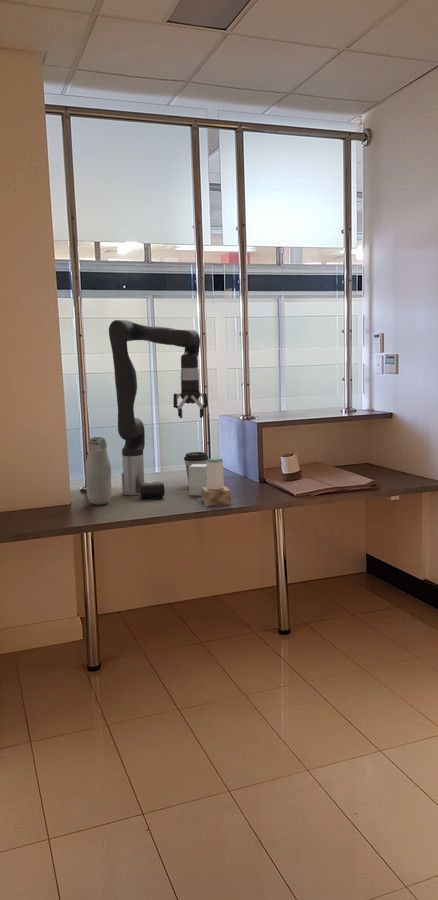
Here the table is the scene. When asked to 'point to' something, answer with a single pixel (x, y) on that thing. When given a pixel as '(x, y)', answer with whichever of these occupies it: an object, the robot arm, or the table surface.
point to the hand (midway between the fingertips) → (191, 417)
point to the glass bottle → (98, 472)
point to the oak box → (216, 496)
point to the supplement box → (197, 478)
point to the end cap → (151, 490)
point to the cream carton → (215, 474)
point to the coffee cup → (194, 460)
